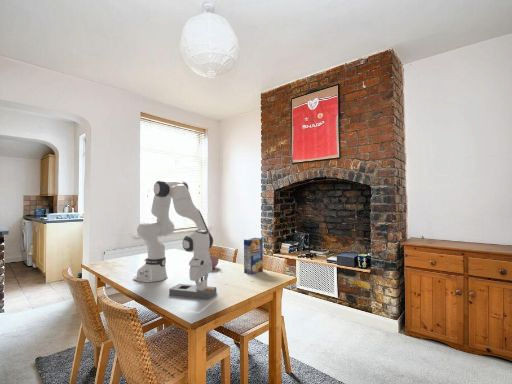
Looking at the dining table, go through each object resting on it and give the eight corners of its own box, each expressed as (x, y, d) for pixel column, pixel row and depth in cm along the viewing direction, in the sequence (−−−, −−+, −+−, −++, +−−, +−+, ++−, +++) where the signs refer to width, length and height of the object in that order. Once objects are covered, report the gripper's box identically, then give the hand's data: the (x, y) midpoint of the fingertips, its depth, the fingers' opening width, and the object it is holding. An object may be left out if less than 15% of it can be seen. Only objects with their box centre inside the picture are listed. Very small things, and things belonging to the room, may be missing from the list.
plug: (196, 296, 151) (196, 278, 151) (200, 293, 155) (200, 275, 156) (203, 297, 150) (203, 278, 150) (207, 294, 154) (207, 276, 154)
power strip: (169, 296, 153) (169, 288, 153) (179, 290, 162) (179, 282, 162) (208, 300, 146) (208, 291, 146) (216, 294, 156) (216, 286, 156)
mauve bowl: (219, 266, 218) (219, 251, 218) (217, 270, 206) (216, 255, 206) (204, 266, 219) (204, 251, 219) (201, 270, 207) (201, 255, 207)
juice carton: (255, 269, 208) (255, 237, 209) (262, 271, 203) (262, 238, 203) (244, 272, 200) (243, 239, 200) (251, 274, 194) (250, 240, 195)
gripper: (205, 255, 164) (205, 278, 164) (187, 263, 144) (187, 289, 144) (214, 255, 162) (214, 279, 162) (198, 263, 143) (198, 290, 142)
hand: (201, 284), depth 153 cm, fingers open, 7 cm apart
